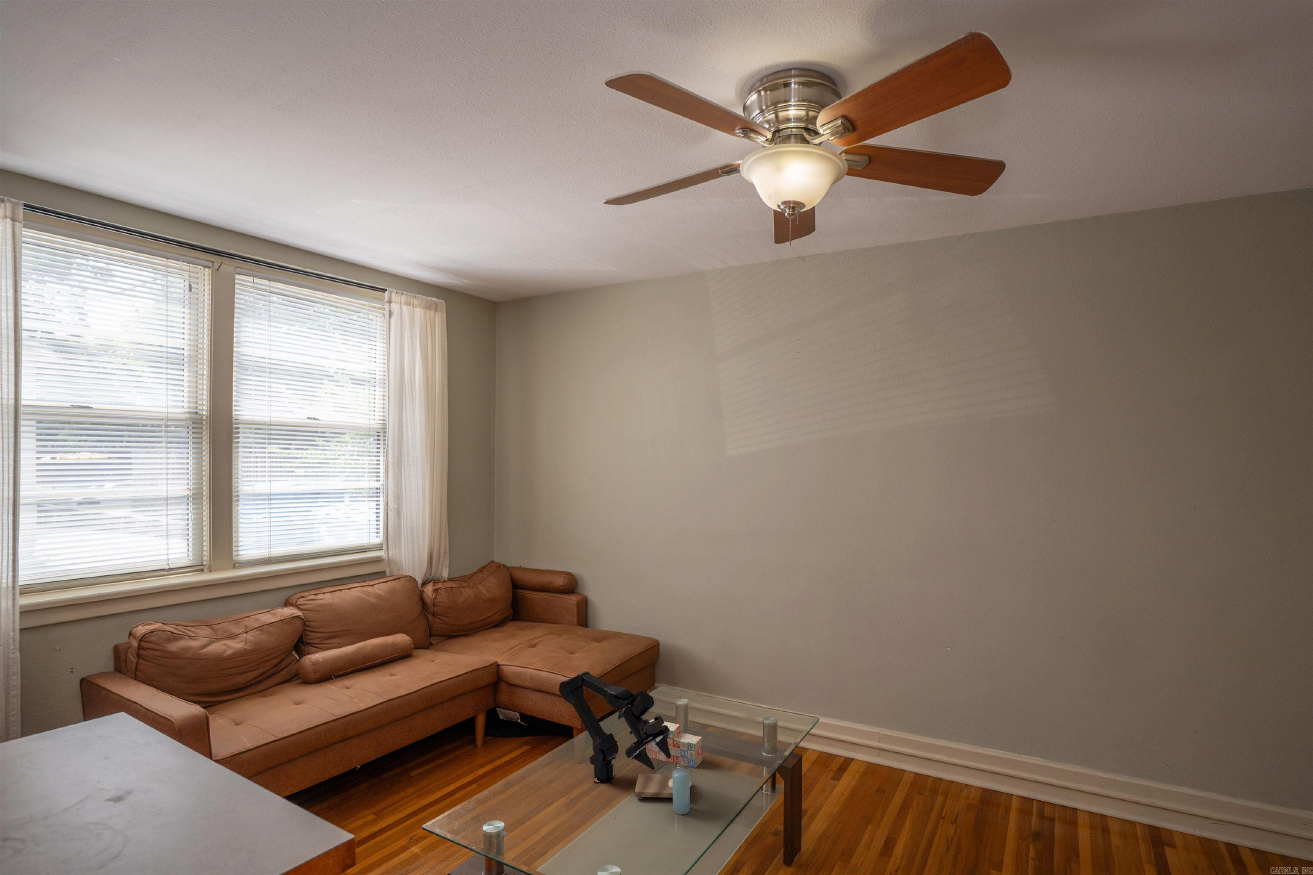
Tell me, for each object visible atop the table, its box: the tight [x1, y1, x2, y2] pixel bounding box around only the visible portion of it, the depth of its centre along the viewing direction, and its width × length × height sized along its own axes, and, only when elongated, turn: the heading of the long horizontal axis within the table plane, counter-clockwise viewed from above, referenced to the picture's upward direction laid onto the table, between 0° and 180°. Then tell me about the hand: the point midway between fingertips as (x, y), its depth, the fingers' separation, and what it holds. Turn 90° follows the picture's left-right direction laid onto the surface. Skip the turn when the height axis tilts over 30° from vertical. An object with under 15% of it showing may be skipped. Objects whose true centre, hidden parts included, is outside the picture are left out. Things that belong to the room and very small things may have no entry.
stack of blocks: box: [644, 718, 703, 769], centre depth 265 cm, size 21×6×12 cm, turn 62°
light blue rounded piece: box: [671, 768, 691, 816], centre depth 229 cm, size 6×6×12 cm
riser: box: [634, 773, 692, 801], centre depth 241 cm, size 19×12×3 cm, turn 85°
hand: (662, 763), depth 234 cm, fingers open, 9 cm apart
